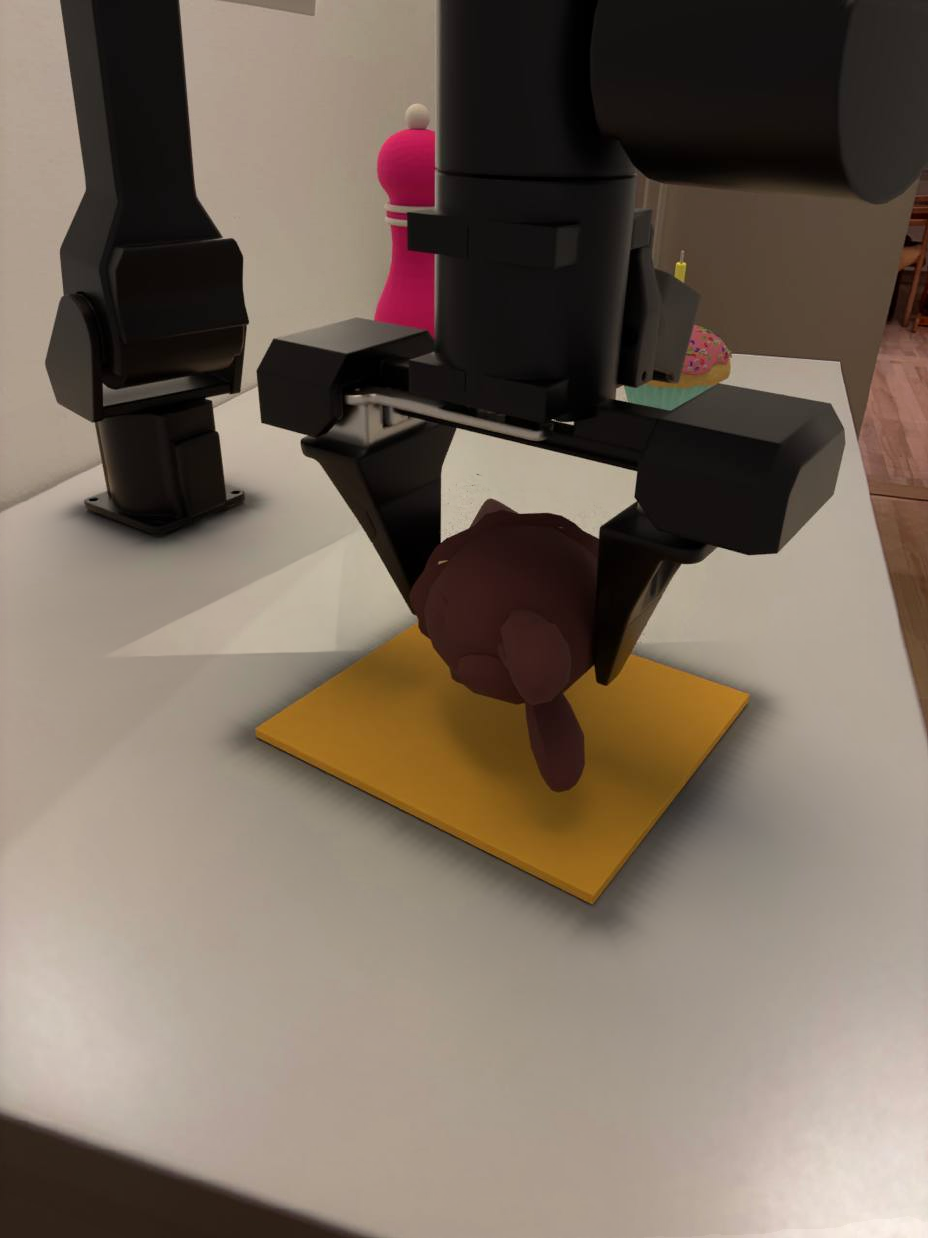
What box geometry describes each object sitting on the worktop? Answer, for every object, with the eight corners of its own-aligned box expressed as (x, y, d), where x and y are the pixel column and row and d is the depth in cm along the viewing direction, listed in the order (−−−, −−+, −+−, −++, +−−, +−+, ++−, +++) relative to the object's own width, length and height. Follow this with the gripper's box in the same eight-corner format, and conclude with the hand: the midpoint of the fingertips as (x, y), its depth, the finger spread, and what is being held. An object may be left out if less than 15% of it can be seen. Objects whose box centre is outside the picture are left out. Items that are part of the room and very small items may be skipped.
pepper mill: (362, 392, 74) (351, 102, 64) (390, 369, 80) (384, 101, 70) (451, 400, 72) (454, 104, 62) (472, 376, 78) (478, 104, 69)
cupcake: (723, 444, 64) (753, 258, 58) (599, 434, 65) (615, 252, 59) (719, 408, 71) (745, 240, 65) (607, 400, 73) (622, 235, 67)
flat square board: (255, 737, 34) (254, 728, 34) (458, 601, 44) (458, 594, 44) (592, 905, 28) (593, 895, 27) (748, 702, 37) (750, 694, 37)
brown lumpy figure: (383, 450, 38) (397, 682, 25) (561, 404, 37) (663, 617, 25) (425, 589, 42) (456, 847, 29) (587, 548, 41) (686, 793, 29)
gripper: (947, 176, 28) (834, 632, 35) (438, 146, 37) (437, 513, 44) (840, 207, 20) (724, 787, 27) (224, 158, 29) (267, 603, 36)
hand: (511, 644), depth 34 cm, fingers closed on brown lumpy figure, 7 cm apart
